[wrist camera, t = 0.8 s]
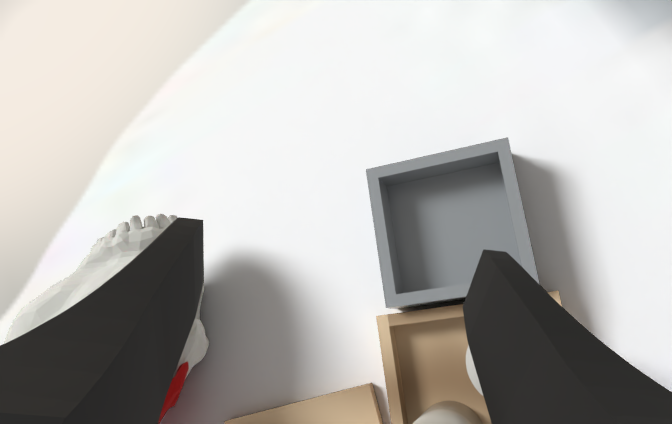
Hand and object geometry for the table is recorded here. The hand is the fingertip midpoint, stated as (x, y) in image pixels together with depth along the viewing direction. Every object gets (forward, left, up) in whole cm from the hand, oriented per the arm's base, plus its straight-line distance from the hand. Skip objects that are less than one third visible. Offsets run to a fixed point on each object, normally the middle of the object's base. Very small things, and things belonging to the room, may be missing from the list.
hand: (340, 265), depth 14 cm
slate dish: (+3, -2, -16) cm, 16 cm away
